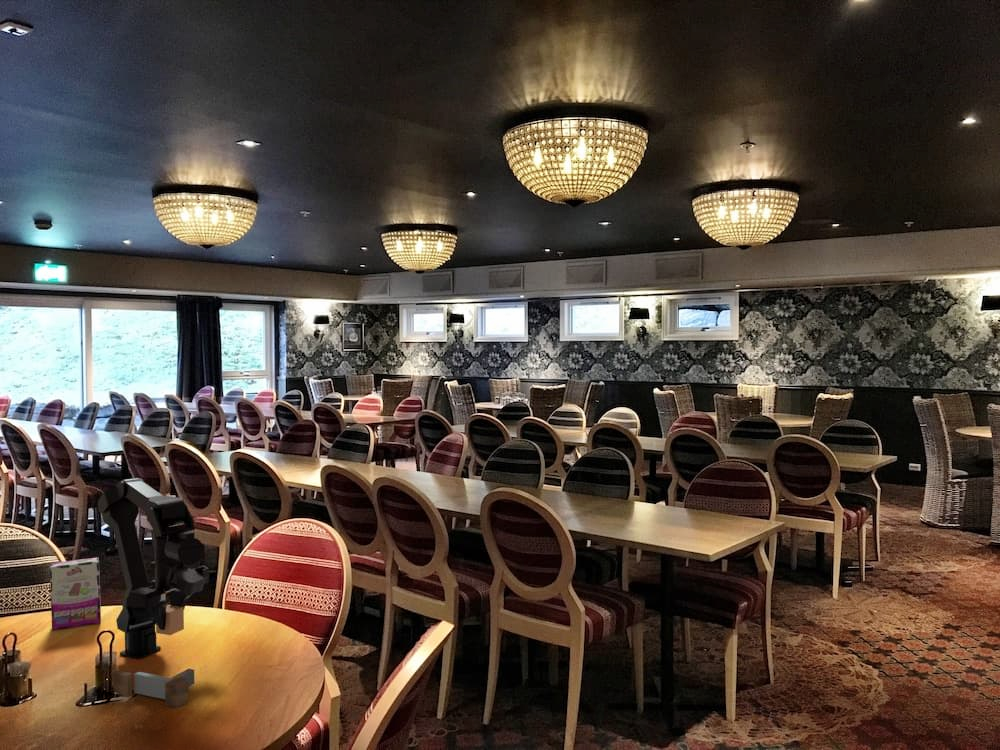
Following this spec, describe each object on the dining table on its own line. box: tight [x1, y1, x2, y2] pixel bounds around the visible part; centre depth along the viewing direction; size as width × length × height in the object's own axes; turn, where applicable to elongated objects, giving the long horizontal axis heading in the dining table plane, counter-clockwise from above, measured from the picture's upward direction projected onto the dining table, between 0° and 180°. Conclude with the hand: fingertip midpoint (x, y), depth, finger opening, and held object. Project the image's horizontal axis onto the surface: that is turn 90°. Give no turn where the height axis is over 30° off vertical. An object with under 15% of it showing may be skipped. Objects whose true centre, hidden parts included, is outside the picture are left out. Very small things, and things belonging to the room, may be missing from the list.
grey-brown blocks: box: [111, 669, 189, 709], centre depth 159 cm, size 20×3×4 cm, turn 69°
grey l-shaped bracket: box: [133, 668, 195, 700], centre depth 161 cm, size 10×7×4 cm
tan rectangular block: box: [155, 604, 185, 636], centre depth 171 cm, size 4×4×5 cm
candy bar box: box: [49, 556, 102, 631], centre depth 200 cm, size 11×5×16 cm, turn 117°
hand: (169, 626), depth 171 cm, fingers closed on tan rectangular block, 4 cm apart
